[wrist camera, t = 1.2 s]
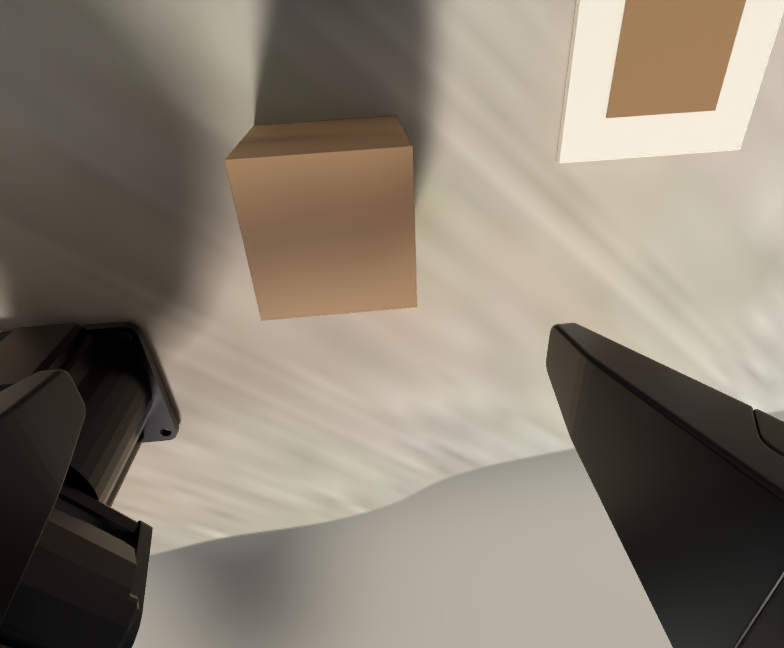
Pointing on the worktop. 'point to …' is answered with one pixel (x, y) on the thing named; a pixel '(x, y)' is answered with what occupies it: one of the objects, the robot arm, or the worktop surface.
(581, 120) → the card
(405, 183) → the walnut block
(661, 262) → the worktop surface
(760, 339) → the worktop surface
